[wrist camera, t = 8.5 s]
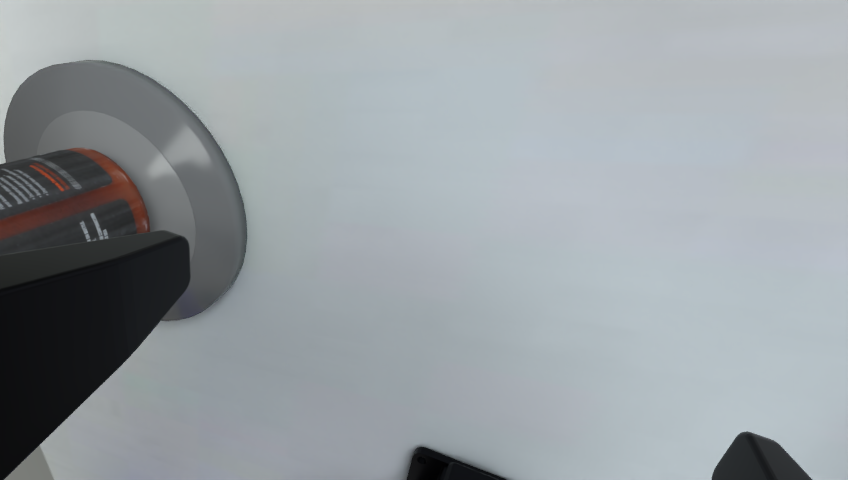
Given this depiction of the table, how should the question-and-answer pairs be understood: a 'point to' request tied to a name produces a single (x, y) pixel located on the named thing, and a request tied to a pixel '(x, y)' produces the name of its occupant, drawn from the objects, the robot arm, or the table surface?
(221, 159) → the plate
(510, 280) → the table surface
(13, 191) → the supplement bottle
